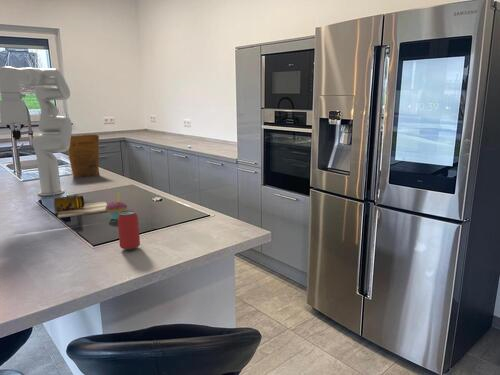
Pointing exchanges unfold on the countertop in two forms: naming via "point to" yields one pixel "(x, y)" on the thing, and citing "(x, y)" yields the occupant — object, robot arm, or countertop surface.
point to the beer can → (128, 229)
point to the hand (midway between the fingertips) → (17, 139)
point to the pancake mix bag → (84, 155)
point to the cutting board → (84, 210)
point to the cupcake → (116, 208)
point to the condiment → (68, 203)
